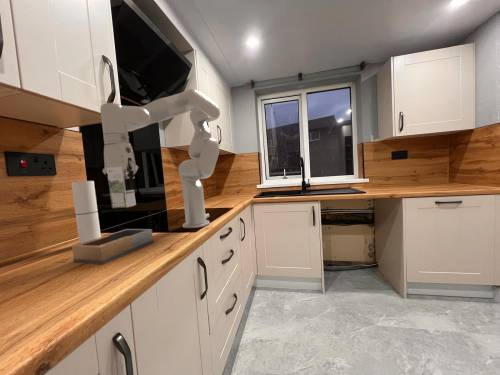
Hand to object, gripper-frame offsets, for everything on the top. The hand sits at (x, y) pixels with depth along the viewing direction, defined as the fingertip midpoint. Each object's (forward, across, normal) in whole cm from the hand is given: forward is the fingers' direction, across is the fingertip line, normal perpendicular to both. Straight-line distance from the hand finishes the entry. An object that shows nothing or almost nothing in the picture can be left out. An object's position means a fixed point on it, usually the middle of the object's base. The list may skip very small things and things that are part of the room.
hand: (122, 190), depth 80 cm
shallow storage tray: (+21, 0, +5) cm, 21 cm away
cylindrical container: (+21, +22, -1) cm, 30 cm away
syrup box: (+6, 0, 0) cm, 6 cm away
